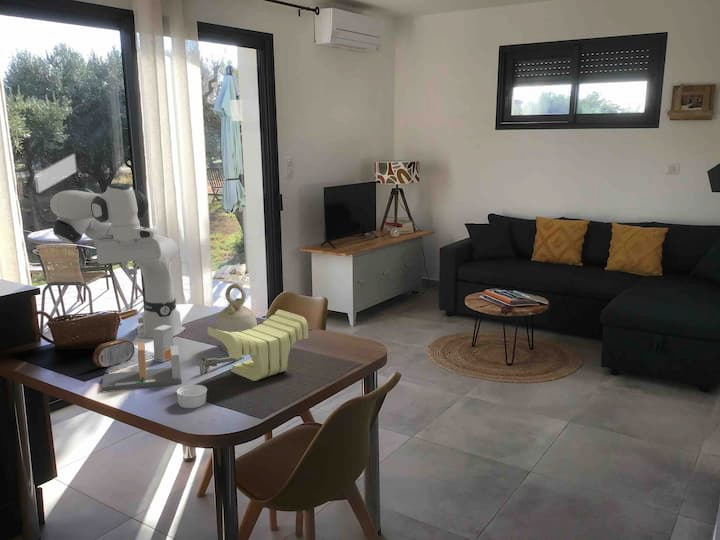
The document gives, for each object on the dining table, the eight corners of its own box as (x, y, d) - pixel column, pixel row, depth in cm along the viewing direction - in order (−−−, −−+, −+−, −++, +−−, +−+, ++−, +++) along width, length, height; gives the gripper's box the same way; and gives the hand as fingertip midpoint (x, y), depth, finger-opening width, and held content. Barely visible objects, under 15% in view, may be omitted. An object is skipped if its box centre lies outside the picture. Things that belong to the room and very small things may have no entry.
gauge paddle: (139, 382, 197) (137, 352, 195) (139, 371, 207) (138, 342, 205) (146, 382, 198) (144, 352, 196) (146, 371, 207) (144, 342, 205)
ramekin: (198, 395, 193) (197, 382, 192) (213, 403, 187) (212, 390, 186) (171, 403, 187) (171, 389, 186) (186, 412, 181) (185, 398, 180)
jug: (233, 339, 247) (231, 278, 242) (265, 345, 240) (264, 282, 235) (208, 350, 234) (205, 286, 228) (241, 357, 227) (239, 290, 222)
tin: (131, 357, 226) (129, 335, 224) (136, 359, 224) (135, 337, 222) (93, 369, 214) (91, 346, 212) (98, 371, 212) (96, 347, 210)
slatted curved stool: (238, 390, 196) (236, 336, 193) (209, 377, 207) (207, 326, 203) (308, 366, 218) (308, 317, 214) (279, 356, 228) (278, 309, 225)
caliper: (202, 376, 209) (201, 358, 208) (200, 375, 210) (199, 357, 208) (244, 359, 226) (243, 342, 225) (242, 358, 226) (241, 341, 225)
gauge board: (101, 391, 194) (99, 363, 193) (104, 378, 206) (102, 350, 204) (181, 383, 202) (180, 355, 200) (179, 370, 213) (178, 344, 211)
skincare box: (164, 362, 221) (162, 330, 218) (154, 361, 222) (152, 329, 220) (174, 357, 226) (173, 325, 224) (164, 355, 228) (163, 324, 225)
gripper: (91, 237, 199) (98, 279, 202) (158, 231, 203) (163, 272, 206) (94, 235, 205) (100, 276, 208) (159, 229, 209) (164, 269, 212)
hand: (132, 274), depth 207 cm, fingers closed
